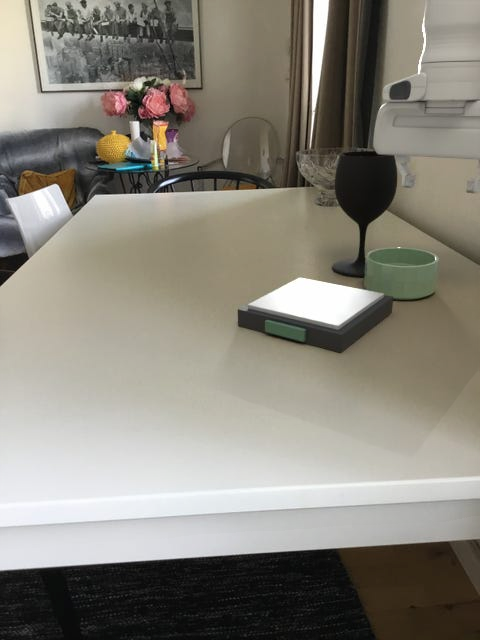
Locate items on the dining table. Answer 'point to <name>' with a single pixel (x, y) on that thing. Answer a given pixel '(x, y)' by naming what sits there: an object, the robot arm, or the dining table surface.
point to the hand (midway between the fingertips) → (439, 189)
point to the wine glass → (363, 197)
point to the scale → (317, 313)
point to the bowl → (401, 272)
